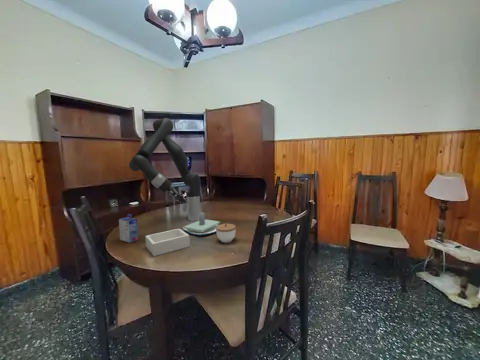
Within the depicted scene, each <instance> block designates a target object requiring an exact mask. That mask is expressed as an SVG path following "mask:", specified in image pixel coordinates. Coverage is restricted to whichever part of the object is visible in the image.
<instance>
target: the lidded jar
mask: <svg viewBox="0 0 480 360" xmlns="http://www.w3.org/2000/svg"><path fill="white" fill-rule="evenodd" d="M217 225H218V226H216V232H215V233H216V236H217V238H218V240H219V241H220V242H222V243H231V242H232V241H233V240H234V238H235V236H236V230H237V229H236V228H237V227H236V225H235V224H232V223H222V224H217Z"/></svg>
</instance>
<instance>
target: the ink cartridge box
mask: <svg viewBox="0 0 480 360" xmlns="http://www.w3.org/2000/svg"><path fill="white" fill-rule="evenodd" d="M132 216H133V214H132V213H131V214H130V213H128V214H127V216H126V217H122V218H119V219H118V224H119V225H118V226H119V228H118V229H119V240H120V241H123V242H127V243H133V242H137V241H138V240H139V231H138V229H139V227H138V219H137V218H135V217H134V218H133V217H132Z"/></svg>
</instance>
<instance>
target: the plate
mask: <svg viewBox="0 0 480 360" xmlns="http://www.w3.org/2000/svg"><path fill="white" fill-rule="evenodd" d="M218 225H219V224H217V225H215V226H213V227H211V228H209V229H207V230H205V231H203V232H198V231H192V230H188V229H184V227H182V230H183V231H184V232H185V233H187V234H189V235H194V236H200V237H203V236H208V235H212V234H215V233H216V226H218Z"/></svg>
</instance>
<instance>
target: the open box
mask: <svg viewBox="0 0 480 360" xmlns="http://www.w3.org/2000/svg"><path fill="white" fill-rule="evenodd" d="M144 238H145V247H146V248H147V250H148V251H149V252H150V254H152V256H153V257H156V256H160V255H163V254H169V253H172V252H174V251H178V250H181V249H186V248H189V247H191V243H190V234H189V233H188V232H186V231H185V230H183V229H181V228H176V229H170V230H167V231H162V232H161V231H160V232H157V233H152V234H148V235H145V236H144Z"/></svg>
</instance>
